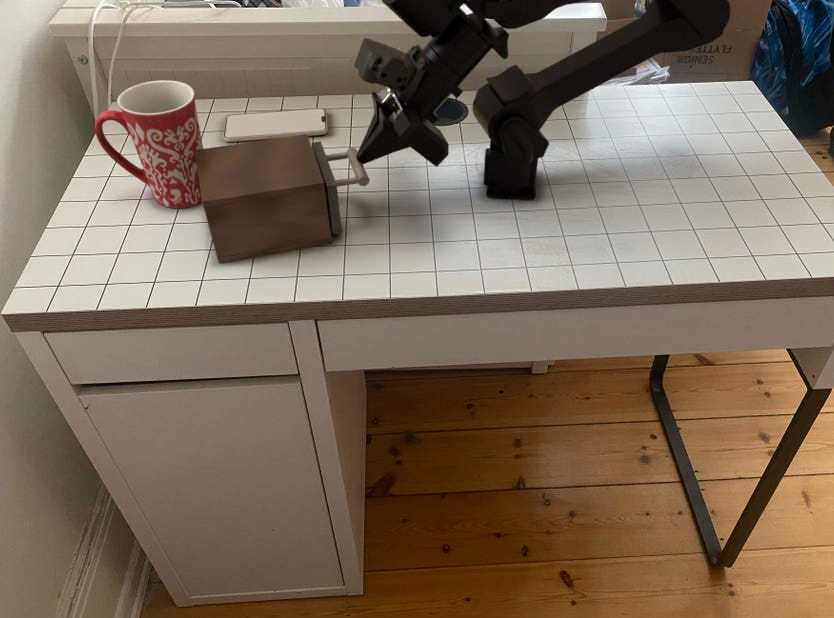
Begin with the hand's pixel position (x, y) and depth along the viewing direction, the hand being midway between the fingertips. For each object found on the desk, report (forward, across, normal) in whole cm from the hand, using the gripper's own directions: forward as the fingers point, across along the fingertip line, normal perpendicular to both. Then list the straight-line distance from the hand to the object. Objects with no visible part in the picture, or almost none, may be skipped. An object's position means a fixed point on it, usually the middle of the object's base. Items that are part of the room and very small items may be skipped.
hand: (359, 160), depth 92 cm
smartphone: (+10, -25, 0) cm, 27 cm away
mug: (+22, -11, -11) cm, 27 cm away
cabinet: (+14, 0, -3) cm, 14 cm away
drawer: (+10, 0, -1) cm, 10 cm away
